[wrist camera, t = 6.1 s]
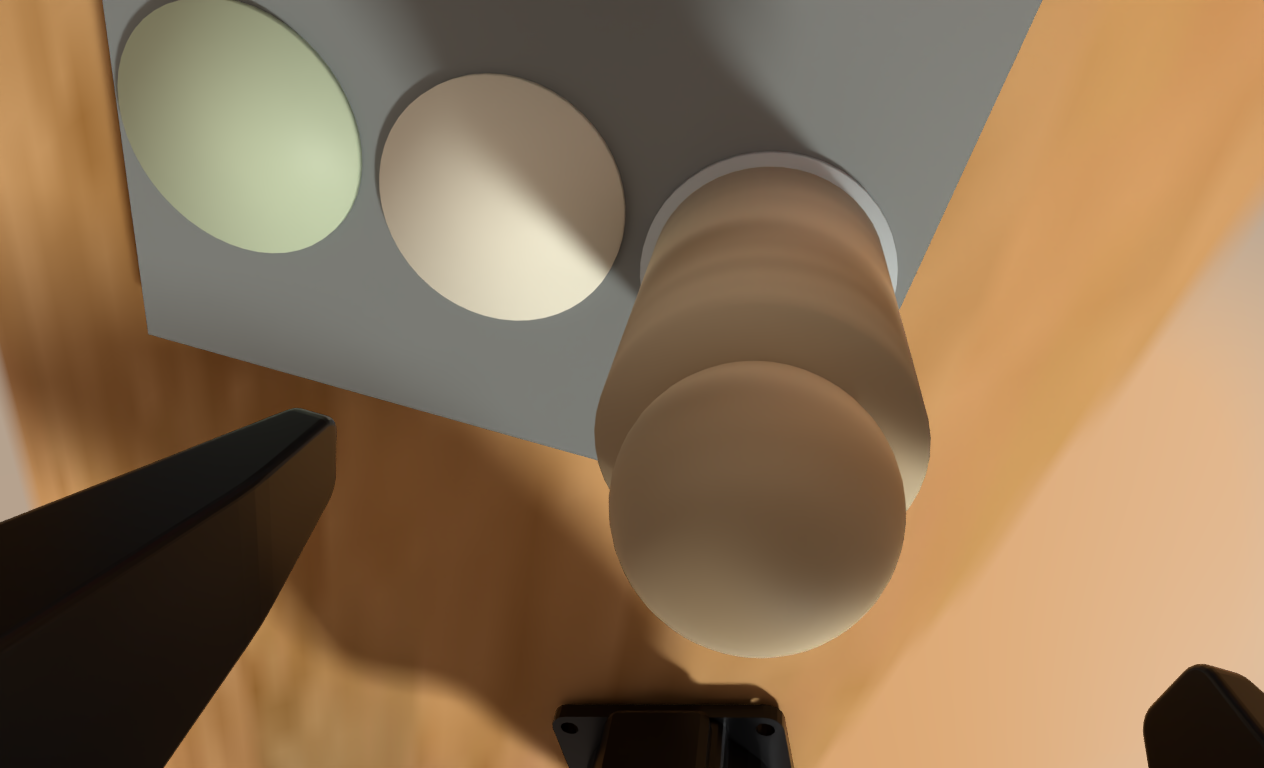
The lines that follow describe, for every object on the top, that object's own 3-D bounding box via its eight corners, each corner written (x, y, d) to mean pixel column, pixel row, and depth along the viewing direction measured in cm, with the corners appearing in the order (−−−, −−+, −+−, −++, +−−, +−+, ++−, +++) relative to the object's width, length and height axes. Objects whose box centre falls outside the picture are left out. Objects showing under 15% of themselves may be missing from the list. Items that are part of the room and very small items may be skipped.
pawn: (891, 367, 14) (975, 752, 8) (674, 389, 15) (594, 747, 9) (877, 146, 12) (974, 422, 6) (629, 187, 13) (487, 461, 7)
